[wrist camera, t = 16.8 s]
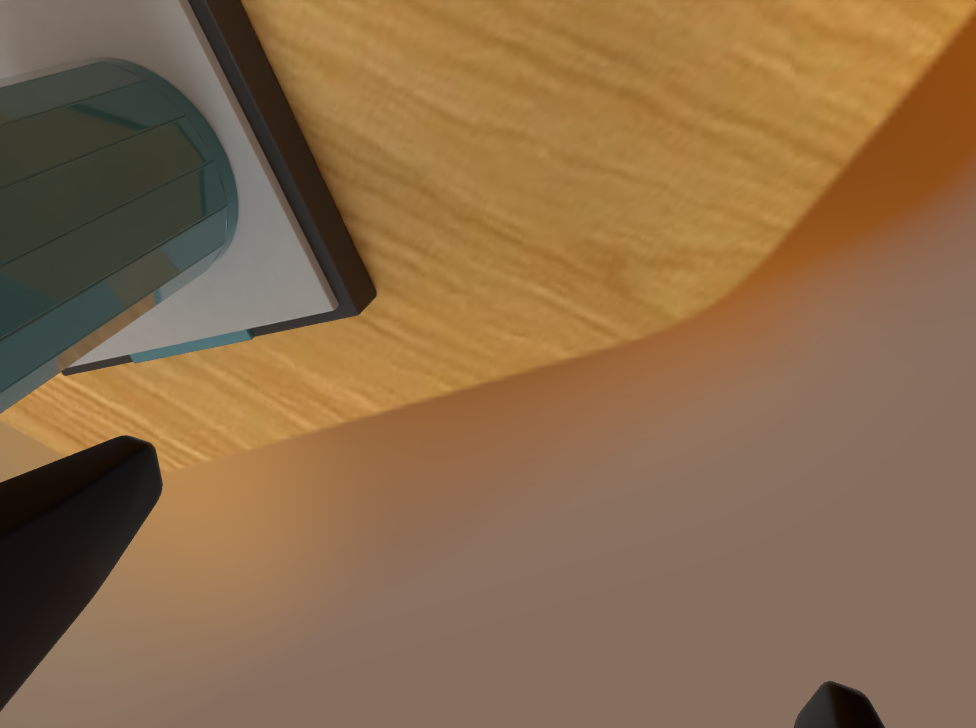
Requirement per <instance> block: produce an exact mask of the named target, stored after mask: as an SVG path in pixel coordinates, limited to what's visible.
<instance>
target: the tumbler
mask: <svg viewBox="0 0 976 728" xmlns="http://www.w3.org/2000/svg"><path fill="white" fill-rule="evenodd" d="M237 222H238V195H237V188H236V184H235V179H234V175H233V172H232V169H231V166H230V163H229V160H228V158H227V156H226V154H225V152H224V149H223V147H222V145H221V143H220V142H219V140H218V138H217V136H216V134H215V133H214V131H213V130H212V128H211V127H210V125H209V124H208V122H207V121H206V119H205V118H204V117H203V116H202V114H201V113H200V112H199V111H198V110H197V108H196V107H195V106H194V105H193V104H192V103H191V102H190V101H189V100H188V99H187V98H186V97H185V96H184V95H183V94H182V93H181V92H180V91H179V90H178V89H176V88H175V87H174V86H173V85H172V84H170V83H169V82H168V81H166V80H165V79H163V78H162V77H160V76H159V75H157V74H156V73H154V72H152V71H150V70H148V69H146V68H144V67H142V66H140V65H137V64H134V63H132V62H129V61H125V60H121V59H116V58H103V57H100V58H93V59H87V60H83V61H79V62H67V63H63V64H59V65H55V66H51V67H47V68H43V69H38V70H34V71H30V72H26V73H22V74H18V75H14V76H10V77H6V78H2V79H0V414H1V413H2V412H4V411H5V410H6V409H8V408H9V407H11V406H12V405H14V404H15V403H17V402H18V401H19V400H21V399H22V398H24V397H25V396H27V395H28V394H30V393H31V392H32V391H34V390H35V389H37V388H38V387H40V386H41V385H43V384H44V383H45V382H47V381H48V380H50V379H51V378H53V377H54V376H56V375H57V374H58V373H60V372H61V371H63V370H64V369H66V368H67V367H69V366H70V365H71V364H73V363H74V362H76V361H77V360H79V359H80V358H81V357H83V356H84V355H86V354H87V353H89V352H90V351H92V350H93V349H94V348H96V347H97V346H99V345H100V344H102V343H103V342H105V341H106V340H107V339H109V338H110V337H112V336H113V335H115V334H116V333H118V332H119V331H120V330H122V329H123V328H125V327H126V326H128V325H129V324H131V323H132V322H133V321H135V320H136V319H138V318H139V317H141V316H142V315H144V314H145V313H146V312H148V311H149V310H151V309H152V308H154V307H155V306H157V305H158V304H159V303H161V302H162V301H164V300H165V299H167V298H168V297H170V296H171V295H172V294H174V293H175V292H177V291H178V290H180V289H181V288H183V287H184V286H185V285H187V284H188V283H190V282H191V281H193V280H194V279H196V278H197V277H198V276H200V275H201V274H203V273H204V272H206V271H207V270H208V269H209V268H210V266H211V265H213V264H214V263H216V262H217V261H218V260H219V259H220V258H221V257H222V256H223V255H224V254H225V252H226V251H227V250H228V248H229V246H230V244H231V242H232V240H233V238H234V235H235V231H236V228H237Z"/></svg>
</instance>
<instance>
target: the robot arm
mask: <svg viewBox="0 0 976 728" xmlns="http://www.w3.org/2000/svg"><path fill="white" fill-rule="evenodd" d="M162 485H163V484H162V478H161V473H160V468H159V463H158V458H157V453H156V450H155V447H154V446H153V445H152V444H151V443H149V442H147V441H144V440H141V439H138V438H135V437H132V436H119V437H116V438H114V439H111V440H108V441H106V442H103V443H101V444H98V445H96V446H93V447H91V448H88V449H85V450H83V451H80V452H78V453H75V454H73V455H70V456H67V457H65V458H62V459H60V460H58V461H55V462H52V463H50V464H47V465H44V466H42V467H39V468H37V469H34V470H32V471H29V472H27V473H24V474H21V475H19V476H17V477H14V478H11V479H9V480H6V481H4V482H1V483H0V711H1V710H2V709H3V708H4V706H5V705H6V704H7V703H8V701H9V700H10V699H11V698H12V697H13V695H14V694H15V693H16V692H17V691H18V689H19V688H20V687H21V686H22V684H23V683H24V682H25V680H26V679H27V678H28V677H29V676H30V675H31V673H32V672H33V671H34V670H35V668H36V667H37V666H38V665H39V663H40V662H41V661H42V660H43V658H44V657H45V656H46V655H47V654H48V652H49V651H50V650H51V649H52V647H53V646H54V645H55V644H56V643H57V641H58V640H59V639H60V638H61V636H62V635H63V634H64V633H65V632H66V630H67V629H68V628H69V627H70V625H71V624H72V623H73V622H74V621H75V619H76V618H77V617H78V615H79V614H80V613H81V612H82V611H83V609H84V608H85V607H86V606H87V604H88V603H89V602H90V600H91V599H92V598H93V597H94V595H95V594H96V592H97V591H98V590H99V588H100V587H101V585H102V584H103V583H104V581H105V580H106V578H107V577H108V575H109V574H110V572H111V571H112V569H113V568H114V566H115V565H116V563H117V562H118V560H119V559H120V557H121V556H122V554H123V553H124V551H125V550H126V548H127V547H128V545H129V544H130V542H131V541H132V539H133V538H134V536H135V535H136V533H137V531H138V530H139V529H140V527H141V525H142V524H143V522H144V521H145V519H146V518H147V517H148V515H149V514H150V512H151V511H152V509H153V507H154V506H155V504H156V503H157V501H158V499H159V497H160V495H161V491H162ZM794 728H885V727H884V725H883V723H882V722H881V720H880V718H879V716H878V714H877V713H876V711H875V709H874V707H873V706H872V704H871V702H870V701H869V699H868V698H867V697H866V696H865V695H864V694H863V693H862V692H860V691H858V690H856V689H853V688H850V687H847V686H844V685H842V684H839V683H836V682H833V681H828V682H825V683H823V684H822V685H821V686H820V688H819V689H818V690H817V691H816V693H815V694H814V695H813V696H812V698H811V699H810V700H809V701H808V703H807V704H806V705H805V706H804V708H803V709H802V710H801V711H800V713H799V714H798V717H797V719H796V722H795V725H794Z"/></svg>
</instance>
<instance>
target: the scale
mask: <svg viewBox="0 0 976 728" xmlns="http://www.w3.org/2000/svg"><path fill="white" fill-rule="evenodd" d="M100 57H103V58H116V59H121V60H125V61H129V62H132V63H134V64H137V65H140V66H142V67H144V68H146V69H148V70H150V71H152V72H154V73H156V74H157V75H159V76H160V77H162V78H163V79H165V80H166V81H168V82H169V83H170V84H172V85H173V86H174V87H175V88H176V89H178V90H179V91H180V92H181V93H182V94H183V95H184V96H185V97H186V98H187V99H188V100H189V101H190V102H191V103H192V104H193V105H194V106H195V107H196V108H197V110H198V111H199V112H200V113H201V114H202V116H203V117H204V118H205V119H206V121H207V122H208V124H209V125H210V127H211V128H212V130H213V131H214V133H215V134H216V136H217V138H218V140H219V142H220V143H221V145H222V147H223V149H224V152H225V154H226V156H227V158H228V160H229V163H230V166H231V169H232V172H233V175H234V179H235V184H236V188H237V195H238V222H237V228H236V231H235V235H234V238H233V240H232V242H231V244H230V246H229V248H228V250H227V251H226V252H225V254H224V255H223V256H222V257H221V258H220V259H219V260H218V261H217V262H216V263H214V264H213V265H211V266H210V268H209V269H208V270H207V271H206V272H204V273H203V274H201V275H200V276H198V277H197V278H196V279H194V280H193V281H191V282H190V283H188V284H187V285H185V286H184V287H183V288H181V289H180V290H178V291H177V292H175V293H174V294H172V295H171V296H170V297H168V298H167V299H165V300H164V301H162V302H161V303H159V304H158V305H157V306H155V307H154V308H152V309H151V310H149V311H148V312H146V313H145V314H144V315H142V316H141V317H139V318H138V319H136V320H135V321H133V322H132V323H131V324H129V325H128V326H126V327H125V328H123V329H122V330H120V331H119V332H118V333H116V334H115V335H113V336H112V337H110V338H109V339H107V340H106V341H105V342H103V343H102V344H100V345H99V346H97V347H96V348H94V349H93V350H92V351H90V352H89V353H87V354H86V355H84V356H83V357H81V358H80V359H79V360H77V361H76V362H74V363H73V364H71V365H70V366H69V367H67V368H66V369H64V370H63V371H61V372H62V374H63V375H64V376H67V375H72V374H76V373H81V372H86V371H91V370H96V369H101V368H105V367H110V366H115V365H120V364H125V363H130V362H134V363H140V362H144V361H149V360H154V359H159V358H164V357H169V356H174V355H179V354H184V353H188V352H193V351H198V350H203V349H208V348H213V347H218V346H223V345H227V344H232V343H237V342H242V341H247V340H252V339H253V338H254V337H255V336H260V335H265V334H270V333H275V332H280V331H284V330H289V329H294V328H299V327H304V326H309V325H313V324H318V323H323V322H328V321H333V320H338V319H342V318H347V317H352V316H357V315H359V314H360V313H361V312H362V311H363V310H364V309H365V308H366V307H367V306H368V305H369V304H370V303H371V302H372V300H373V299H374V298H375V297H376V296H377V295H376V292H375V290H374V288H373V286H372V284H371V282H370V280H369V277H368V275H367V273H366V271H365V269H364V267H363V265H362V262H361V260H360V258H359V256H358V254H357V252H356V250H355V247H354V245H353V243H352V241H351V239H350V237H349V235H348V232H347V230H346V228H345V226H344V224H343V222H342V220H341V217H340V215H339V213H338V211H337V209H336V207H335V205H334V202H333V200H332V198H331V196H330V194H329V192H328V190H327V187H326V185H325V183H324V181H323V179H322V177H321V175H320V172H319V170H318V168H317V166H316V164H315V162H314V160H313V157H312V155H311V153H310V151H309V149H308V147H307V145H306V143H305V140H304V138H303V136H302V134H301V132H300V130H299V128H298V125H297V123H296V121H295V119H294V117H293V115H292V113H291V110H290V108H289V106H288V104H287V102H286V100H285V98H284V95H283V93H282V91H281V89H280V87H279V85H278V83H277V80H276V78H275V76H274V74H273V72H272V70H271V68H270V65H269V63H268V61H267V59H266V57H265V55H264V53H263V50H262V48H261V46H260V44H259V42H258V40H257V38H256V35H255V33H254V31H253V29H252V27H251V25H250V23H249V20H248V18H247V16H246V14H245V12H244V10H243V8H242V5H241V3H240V1H239V0H0V79H2V78H6V77H10V76H14V75H18V74H22V73H26V72H30V71H34V70H38V69H43V68H47V67H51V66H55V65H59V64H63V63H67V62H79V61H83V60H87V59H93V58H100Z"/></svg>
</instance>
